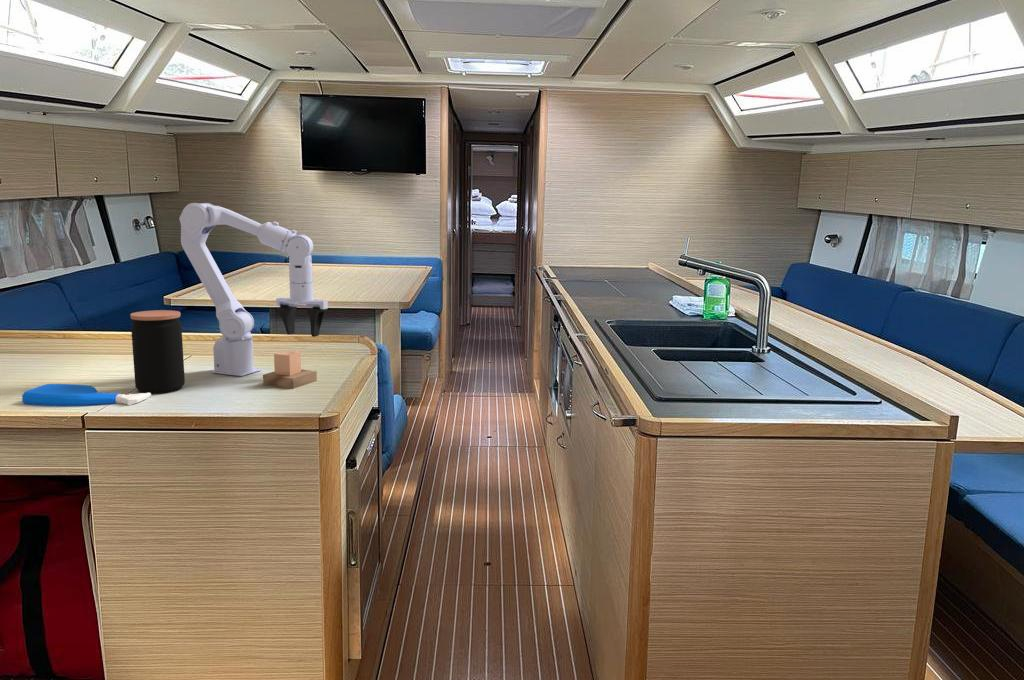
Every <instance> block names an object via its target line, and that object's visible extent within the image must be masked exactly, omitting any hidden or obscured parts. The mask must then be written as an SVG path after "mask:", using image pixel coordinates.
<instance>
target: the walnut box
mask: <svg viewBox="0 0 1024 680" xmlns="http://www.w3.org/2000/svg"><path fill="white" fill-rule="evenodd" d="M317 376H318V375H317V371H316V370H309V369H302V368H301V372H300V373H297V374H294V375H291V376H287V375H278V374H275V370H274V371H271V372H268V373H264V374H262V384H263V386H270V387H276V388H277V387H278V388H284V389H285V388H286V389H297V388H300V387H303V386H306V385H309V384H312V383H315V382H317V381H318V379H317Z"/></svg>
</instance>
